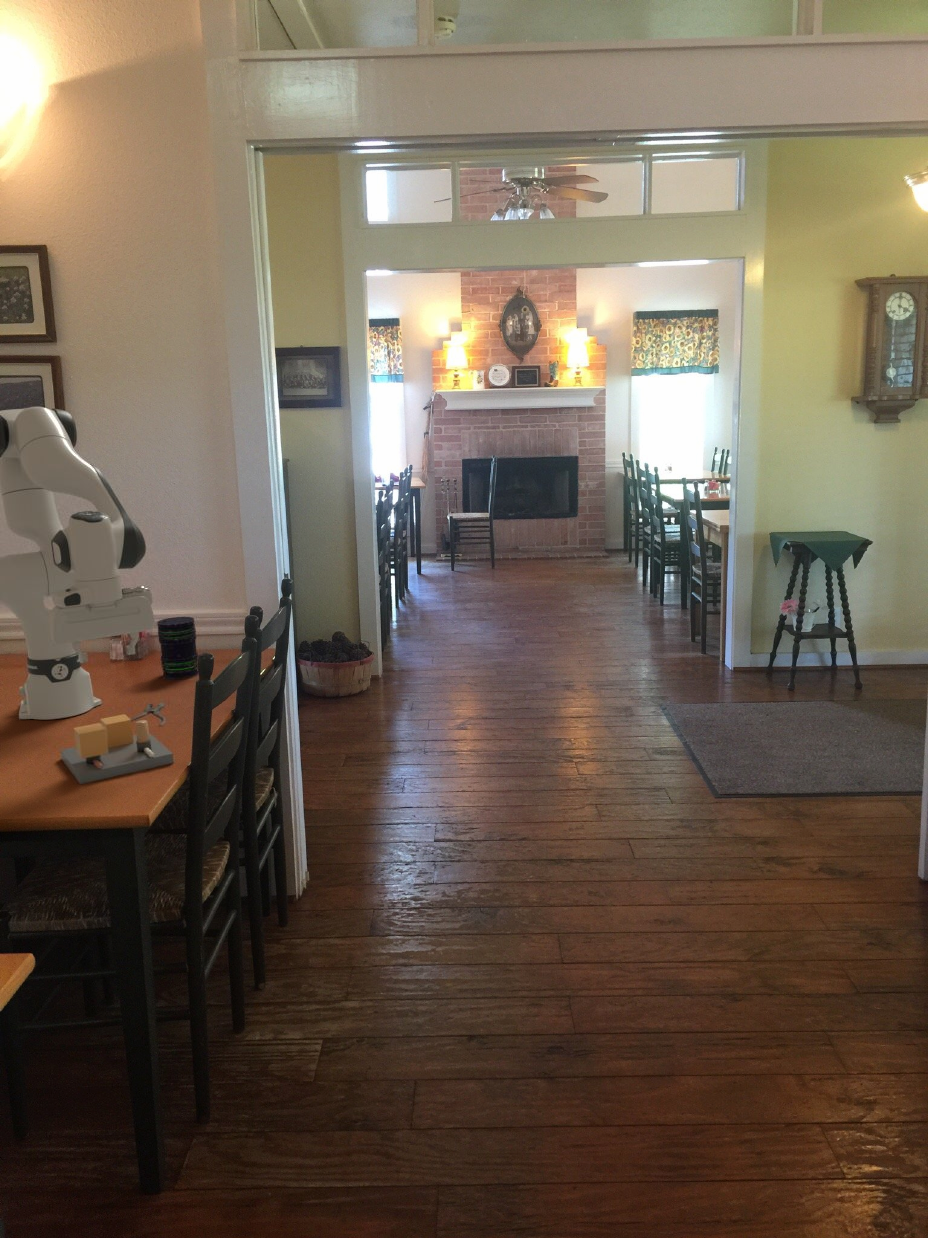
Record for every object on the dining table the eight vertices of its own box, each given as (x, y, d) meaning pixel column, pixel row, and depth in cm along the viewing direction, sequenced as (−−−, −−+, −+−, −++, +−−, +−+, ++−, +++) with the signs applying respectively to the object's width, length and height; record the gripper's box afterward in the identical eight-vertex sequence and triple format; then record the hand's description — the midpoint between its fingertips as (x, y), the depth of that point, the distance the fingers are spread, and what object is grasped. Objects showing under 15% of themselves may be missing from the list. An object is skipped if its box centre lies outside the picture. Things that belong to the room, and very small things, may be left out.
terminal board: (61, 759, 203) (56, 718, 201) (149, 740, 213) (144, 701, 211) (80, 784, 188) (74, 740, 186) (173, 763, 198) (169, 721, 196)
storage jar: (202, 668, 273) (196, 615, 270) (197, 677, 263) (192, 623, 260) (165, 671, 272) (159, 618, 269) (159, 680, 262) (153, 625, 259)
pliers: (121, 729, 220) (122, 705, 238) (121, 733, 220) (122, 709, 238) (166, 724, 222) (164, 700, 241) (166, 727, 223) (164, 703, 241)
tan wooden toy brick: (103, 741, 207) (100, 718, 206) (127, 736, 209) (124, 714, 208) (109, 747, 203) (106, 724, 202) (133, 742, 205) (130, 719, 204)
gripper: (146, 583, 207) (154, 647, 210) (43, 597, 197) (53, 664, 200) (154, 586, 202) (162, 652, 205) (49, 600, 192) (59, 669, 194)
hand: (107, 658), depth 202 cm, fingers open, 8 cm apart
